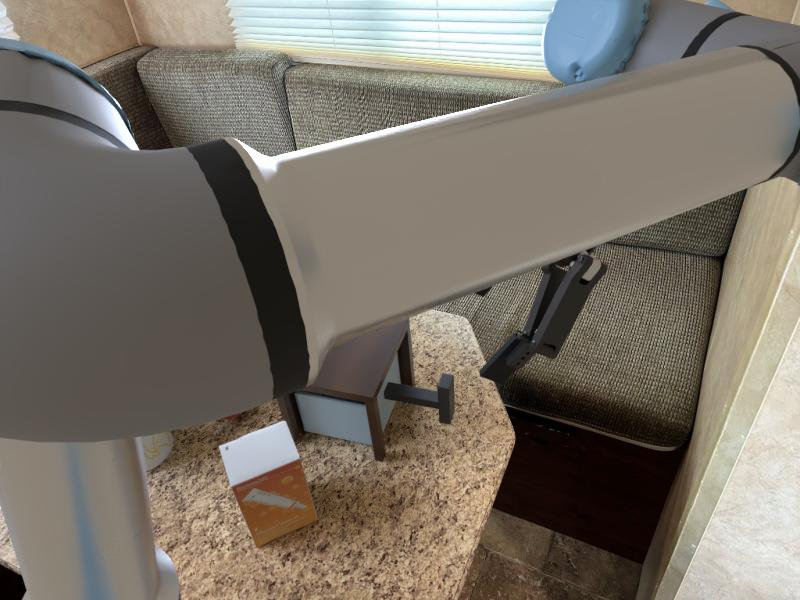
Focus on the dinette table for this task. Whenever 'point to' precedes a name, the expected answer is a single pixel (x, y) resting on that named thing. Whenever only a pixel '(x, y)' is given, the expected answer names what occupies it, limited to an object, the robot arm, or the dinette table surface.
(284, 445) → the small box
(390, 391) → the drawer
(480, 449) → the dinette table surface
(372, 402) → the cabinet
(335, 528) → the dinette table surface
